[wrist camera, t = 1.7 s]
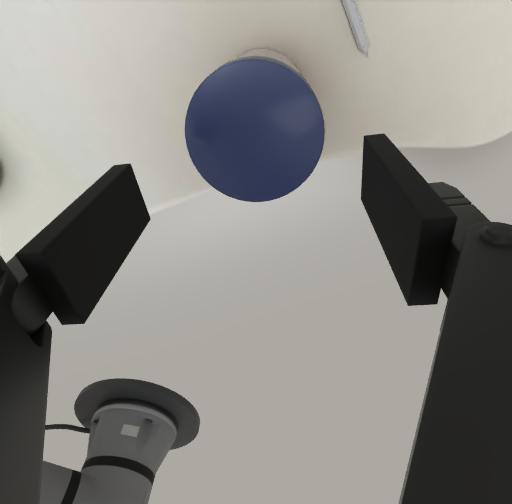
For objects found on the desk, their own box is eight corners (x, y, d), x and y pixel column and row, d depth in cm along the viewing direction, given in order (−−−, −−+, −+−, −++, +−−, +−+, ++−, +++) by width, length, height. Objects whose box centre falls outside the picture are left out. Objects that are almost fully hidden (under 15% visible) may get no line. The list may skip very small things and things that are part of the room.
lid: (207, 195, 24) (202, 207, 22) (176, 67, 19) (167, 71, 18) (322, 183, 23) (325, 195, 21) (319, 45, 18) (323, 47, 17)
